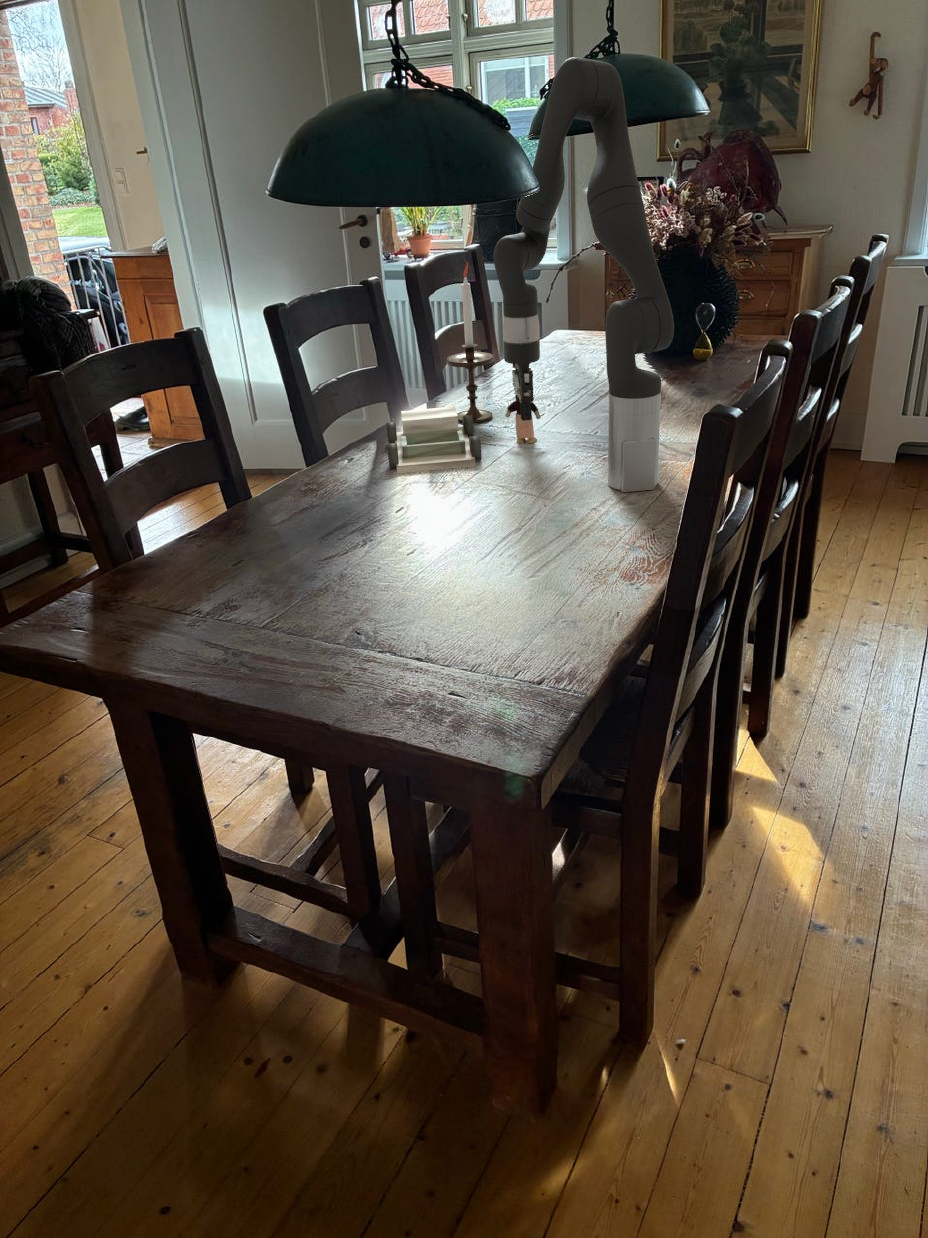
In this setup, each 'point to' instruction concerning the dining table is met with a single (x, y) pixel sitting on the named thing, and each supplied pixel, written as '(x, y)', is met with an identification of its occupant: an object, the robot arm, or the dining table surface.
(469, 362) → the candlestick
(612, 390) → the robot arm
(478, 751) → the dining table surface
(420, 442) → the chassis
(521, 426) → the grandmother figurine
